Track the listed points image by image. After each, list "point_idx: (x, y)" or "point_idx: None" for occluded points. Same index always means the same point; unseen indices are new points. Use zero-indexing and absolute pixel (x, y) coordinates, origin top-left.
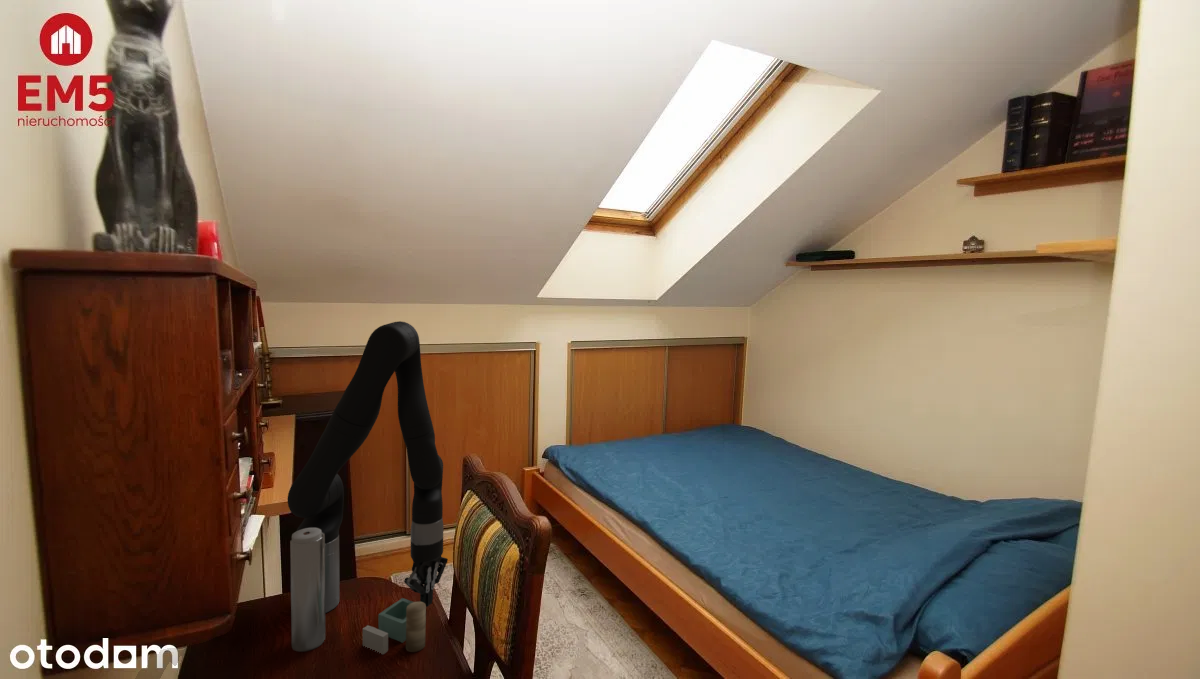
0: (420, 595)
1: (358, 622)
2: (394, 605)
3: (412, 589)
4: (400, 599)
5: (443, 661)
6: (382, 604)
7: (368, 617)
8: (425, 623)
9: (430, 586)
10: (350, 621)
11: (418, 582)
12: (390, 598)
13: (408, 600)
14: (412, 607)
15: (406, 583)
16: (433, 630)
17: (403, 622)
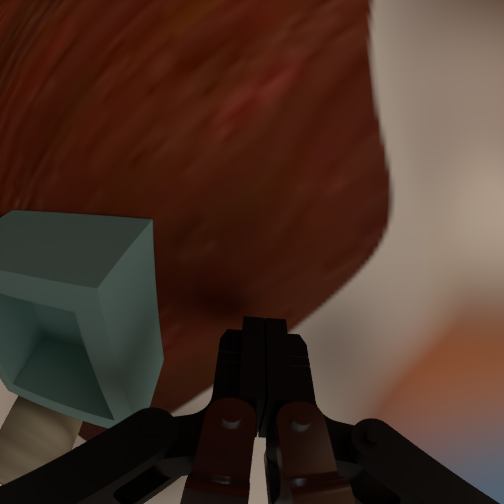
0: (214, 381)
1: (22, 49)
2: (15, 291)
3: (98, 445)
4: (75, 285)
5: (92, 434)
6: (203, 3)
7: (63, 48)
8: (161, 363)
9: (265, 464)
10: (20, 13)
11: (189, 480)
12: (291, 3)
13: (107, 347)
14: (2, 483)
15: (4, 495)
16: (155, 392)
17: (12, 391)
